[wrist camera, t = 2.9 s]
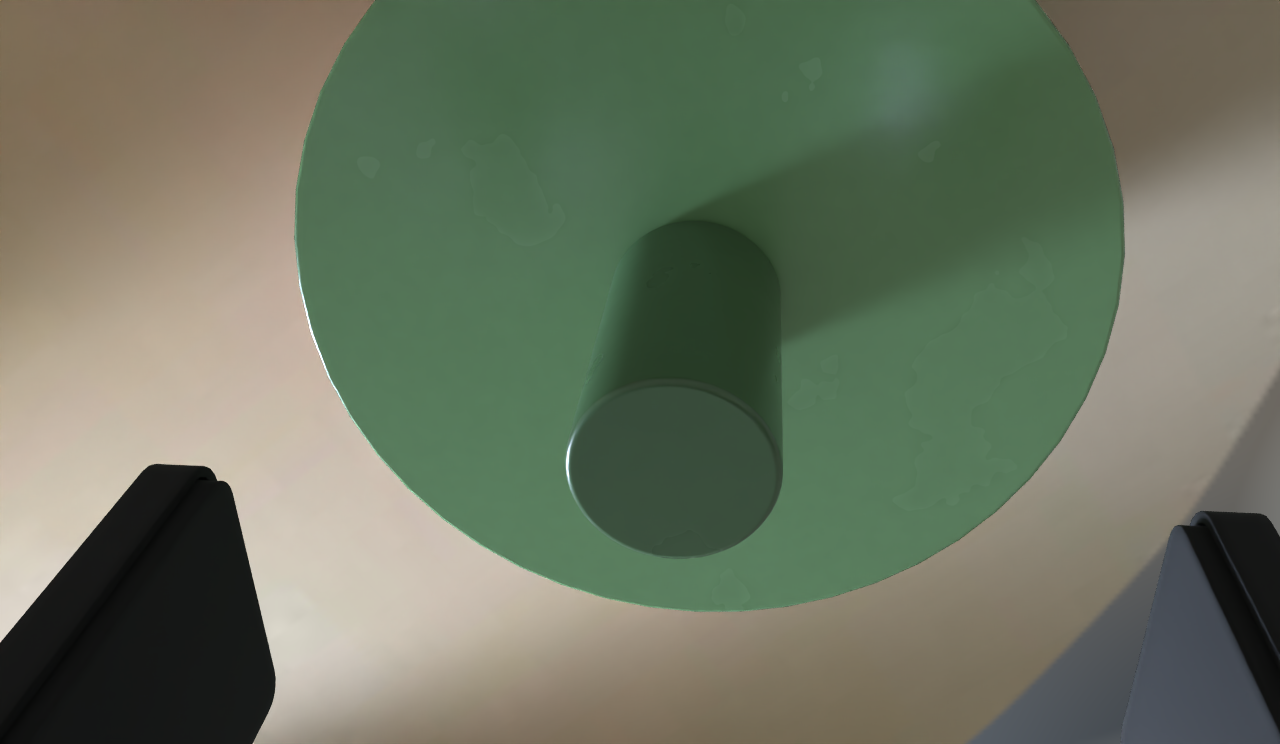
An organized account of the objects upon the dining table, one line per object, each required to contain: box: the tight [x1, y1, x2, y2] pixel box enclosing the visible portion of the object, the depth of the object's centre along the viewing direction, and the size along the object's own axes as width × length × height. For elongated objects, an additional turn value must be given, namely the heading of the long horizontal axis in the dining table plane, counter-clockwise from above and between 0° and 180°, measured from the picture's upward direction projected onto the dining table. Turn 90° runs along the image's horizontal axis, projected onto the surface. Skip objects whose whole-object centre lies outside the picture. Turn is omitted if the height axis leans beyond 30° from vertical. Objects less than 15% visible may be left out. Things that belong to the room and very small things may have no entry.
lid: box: [294, 0, 1125, 612], centre depth 17 cm, size 13×13×6 cm
